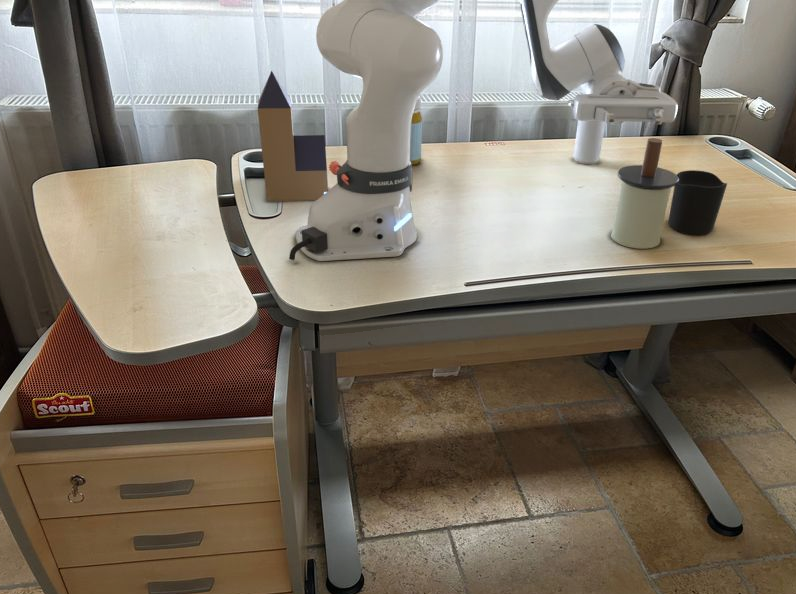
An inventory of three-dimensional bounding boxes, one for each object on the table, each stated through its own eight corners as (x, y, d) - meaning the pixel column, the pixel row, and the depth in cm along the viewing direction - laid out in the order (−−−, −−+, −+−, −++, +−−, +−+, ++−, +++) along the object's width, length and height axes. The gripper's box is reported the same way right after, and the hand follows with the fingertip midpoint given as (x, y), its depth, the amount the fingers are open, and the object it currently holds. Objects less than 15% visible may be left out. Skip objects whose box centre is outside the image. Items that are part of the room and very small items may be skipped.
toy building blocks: (267, 201, 147) (254, 74, 134) (269, 170, 163) (257, 53, 149) (328, 199, 149) (321, 74, 136) (324, 168, 165) (318, 53, 151)
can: (661, 251, 133) (675, 189, 127) (610, 245, 135) (622, 184, 128) (658, 231, 141) (671, 172, 134) (610, 226, 142) (621, 167, 136)
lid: (641, 191, 125) (649, 152, 121) (605, 171, 134) (612, 134, 130) (690, 185, 129) (699, 146, 125) (653, 165, 137) (660, 129, 133)
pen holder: (719, 224, 145) (732, 176, 139) (708, 240, 138) (721, 191, 133) (672, 214, 149) (683, 167, 143) (660, 229, 142) (670, 180, 136)
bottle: (425, 164, 169) (426, 99, 161) (397, 167, 167) (397, 101, 159) (414, 155, 175) (416, 91, 166) (387, 157, 172) (387, 93, 164)
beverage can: (568, 157, 177) (574, 107, 170) (591, 155, 179) (599, 106, 172) (580, 165, 172) (587, 115, 165) (603, 164, 174) (612, 113, 167)
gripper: (567, 83, 146) (583, 101, 134) (666, 85, 147) (690, 103, 136) (563, 115, 149) (578, 135, 138) (659, 117, 151) (682, 137, 139)
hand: (634, 119), depth 137 cm, fingers open, 8 cm apart
